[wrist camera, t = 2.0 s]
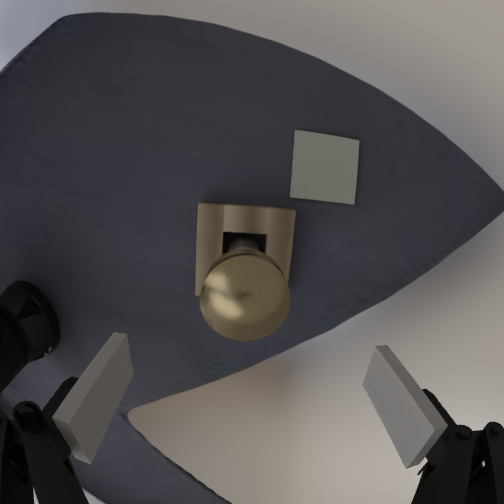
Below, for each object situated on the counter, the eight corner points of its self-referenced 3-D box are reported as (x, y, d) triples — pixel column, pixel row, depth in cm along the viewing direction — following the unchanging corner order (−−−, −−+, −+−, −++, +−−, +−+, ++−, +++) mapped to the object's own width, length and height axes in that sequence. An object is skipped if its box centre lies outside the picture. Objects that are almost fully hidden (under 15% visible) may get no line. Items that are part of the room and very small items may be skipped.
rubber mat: (289, 197, 36) (290, 197, 36) (294, 130, 34) (295, 129, 33) (352, 204, 37) (354, 204, 36) (357, 141, 34) (359, 140, 34)
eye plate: (198, 288, 39) (195, 295, 36) (201, 202, 36) (198, 203, 33) (283, 293, 39) (285, 300, 37) (292, 208, 37) (295, 210, 34)
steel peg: (216, 272, 38) (199, 338, 22) (218, 222, 37) (200, 255, 20) (267, 276, 39) (284, 342, 22) (272, 225, 37) (296, 261, 21)
